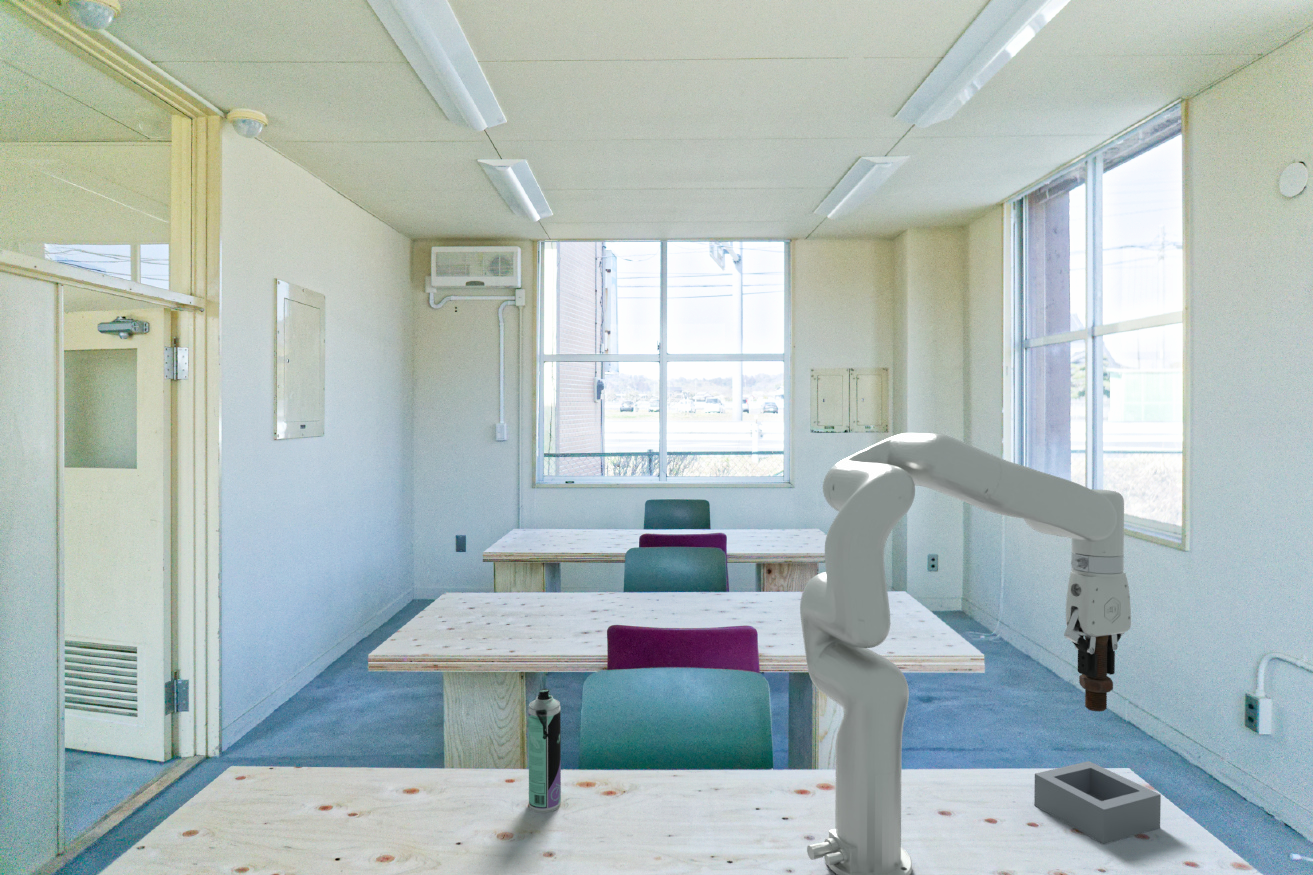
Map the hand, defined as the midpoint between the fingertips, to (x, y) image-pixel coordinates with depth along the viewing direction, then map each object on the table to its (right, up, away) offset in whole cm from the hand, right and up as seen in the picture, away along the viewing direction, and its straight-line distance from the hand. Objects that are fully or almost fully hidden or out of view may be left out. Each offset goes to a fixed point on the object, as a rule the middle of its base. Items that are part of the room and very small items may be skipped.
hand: (1096, 672), depth 126 cm
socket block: (0, -24, +1) cm, 24 cm away
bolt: (0, -6, 0) cm, 6 cm away
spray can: (-93, -25, +5) cm, 96 cm away
